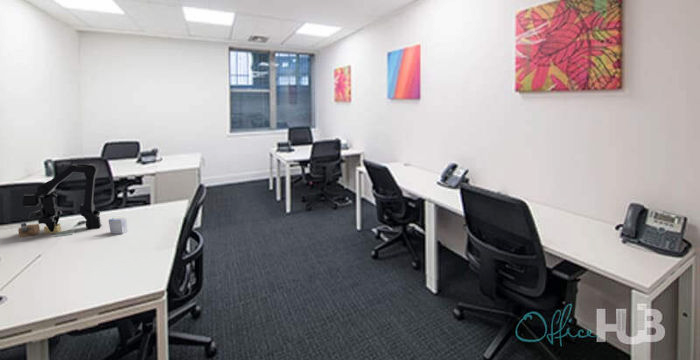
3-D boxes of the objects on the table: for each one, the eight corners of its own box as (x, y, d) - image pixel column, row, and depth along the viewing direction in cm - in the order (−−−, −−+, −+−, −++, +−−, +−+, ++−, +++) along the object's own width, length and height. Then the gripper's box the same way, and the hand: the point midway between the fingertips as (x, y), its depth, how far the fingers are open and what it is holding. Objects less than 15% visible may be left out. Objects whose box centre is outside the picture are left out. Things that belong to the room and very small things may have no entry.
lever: (28, 231, 186) (27, 227, 186) (22, 232, 184) (21, 228, 184) (27, 226, 194) (26, 222, 193) (20, 227, 192) (20, 223, 192)
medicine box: (128, 231, 201) (126, 217, 199) (122, 234, 196) (120, 220, 195) (116, 230, 202) (114, 217, 200) (110, 233, 197) (108, 219, 195)
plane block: (40, 231, 200) (38, 223, 199) (35, 234, 194) (34, 227, 193) (24, 232, 197) (23, 225, 196) (19, 236, 191) (18, 229, 190)
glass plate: (75, 230, 201) (75, 230, 201) (71, 234, 195) (71, 233, 195) (58, 232, 197) (58, 232, 197) (54, 236, 191) (54, 236, 191)
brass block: (61, 229, 202) (60, 223, 201) (57, 232, 198) (56, 226, 197) (49, 231, 200) (47, 224, 199) (45, 233, 196) (43, 227, 195)
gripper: (36, 202, 200) (41, 227, 203) (23, 210, 183) (29, 237, 187) (60, 200, 205) (64, 224, 208) (49, 208, 188) (54, 234, 192)
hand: (53, 230), depth 198 cm, fingers closed on brass block, 5 cm apart
